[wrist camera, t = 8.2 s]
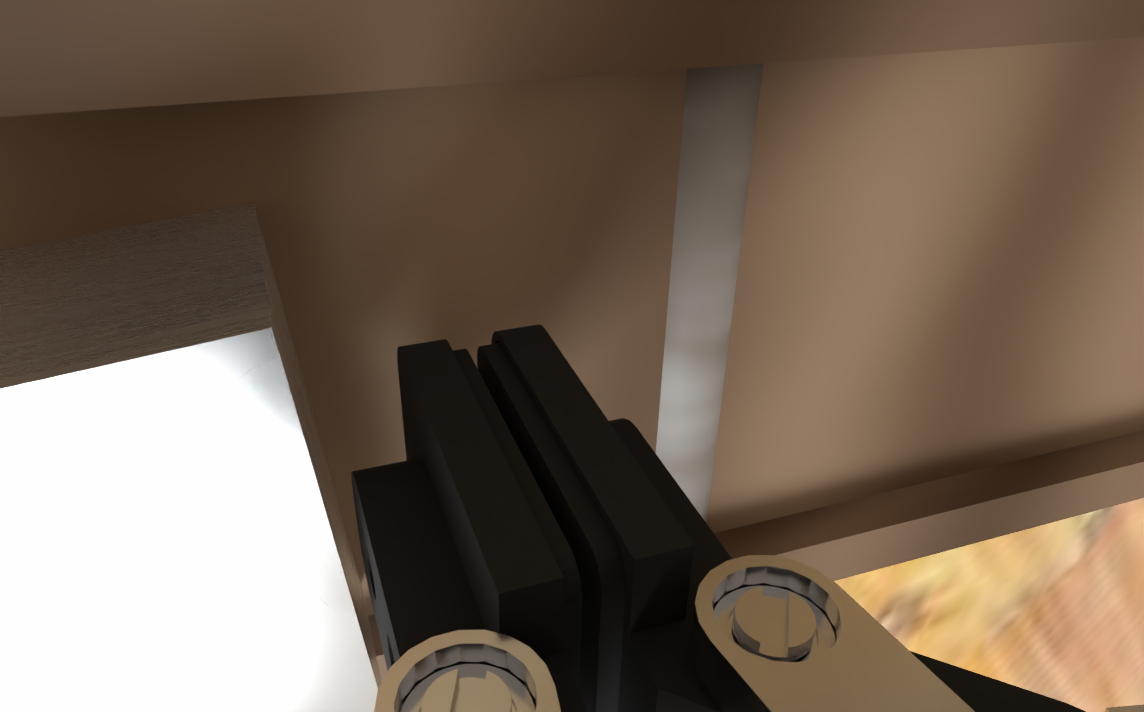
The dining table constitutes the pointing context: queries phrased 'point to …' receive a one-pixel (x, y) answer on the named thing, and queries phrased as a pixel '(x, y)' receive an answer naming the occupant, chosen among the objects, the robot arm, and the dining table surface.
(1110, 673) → the dining table surface
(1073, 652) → the dining table surface
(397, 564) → the robot arm
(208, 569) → the steel slab
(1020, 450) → the seesaw beam
